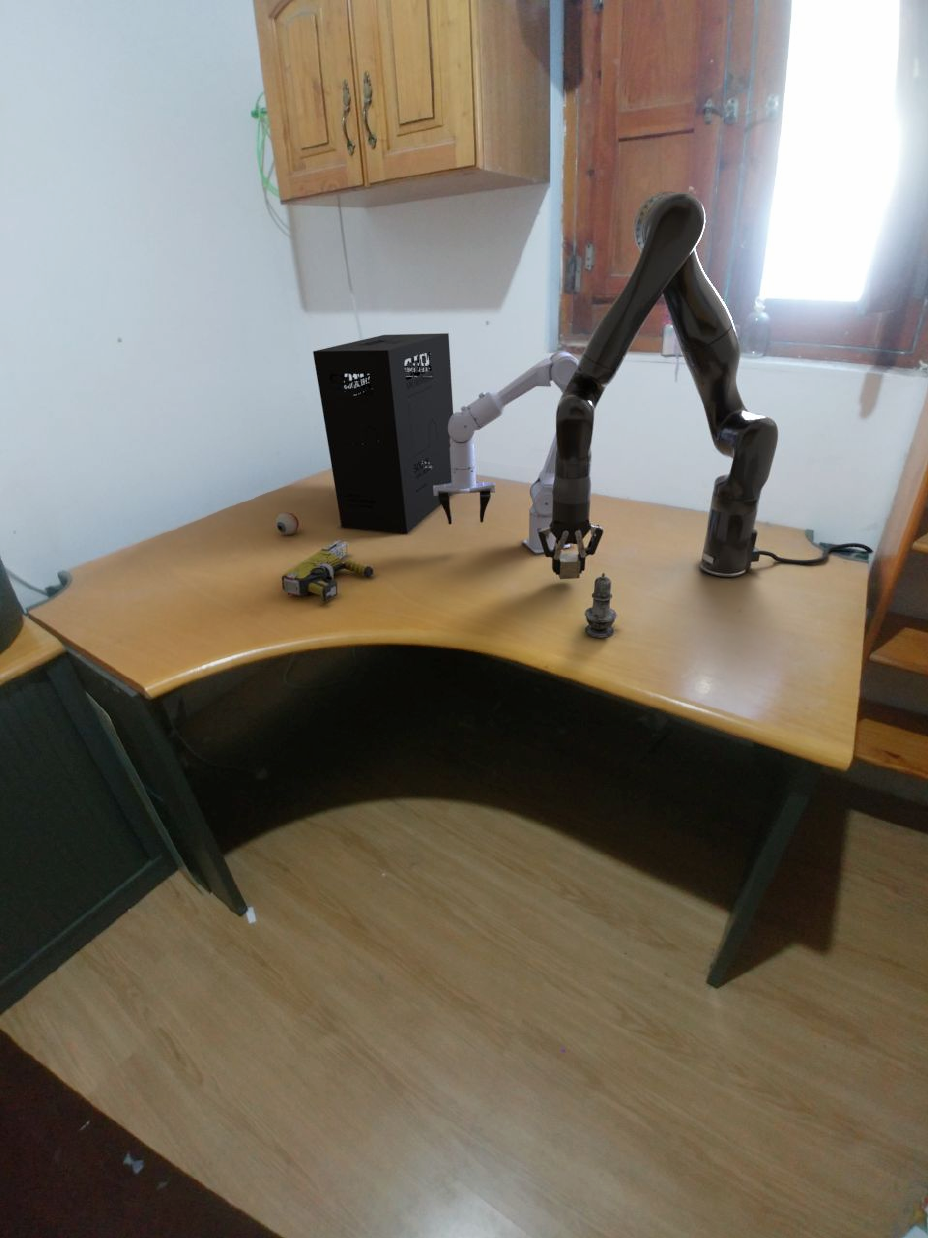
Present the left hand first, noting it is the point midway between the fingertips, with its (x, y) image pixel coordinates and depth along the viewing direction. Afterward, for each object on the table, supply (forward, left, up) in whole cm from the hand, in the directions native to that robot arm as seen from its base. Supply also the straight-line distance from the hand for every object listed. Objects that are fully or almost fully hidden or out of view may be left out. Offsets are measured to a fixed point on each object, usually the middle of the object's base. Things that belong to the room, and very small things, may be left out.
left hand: (465, 521), depth 147 cm
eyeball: (+41, -31, -7) cm, 52 cm away
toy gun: (+33, +3, -7) cm, 34 cm away
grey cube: (-14, +27, -5) cm, 31 cm away
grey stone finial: (-10, +47, -7) cm, 49 cm away
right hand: (-14, +27, -4) cm, 31 cm away
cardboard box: (+7, -38, -7) cm, 39 cm away
